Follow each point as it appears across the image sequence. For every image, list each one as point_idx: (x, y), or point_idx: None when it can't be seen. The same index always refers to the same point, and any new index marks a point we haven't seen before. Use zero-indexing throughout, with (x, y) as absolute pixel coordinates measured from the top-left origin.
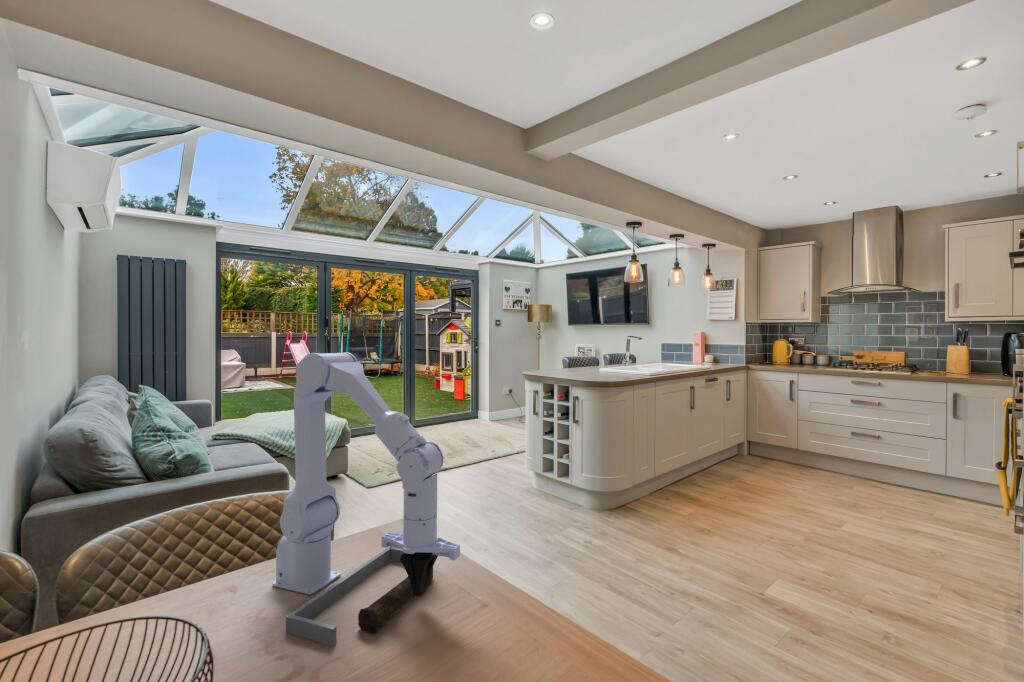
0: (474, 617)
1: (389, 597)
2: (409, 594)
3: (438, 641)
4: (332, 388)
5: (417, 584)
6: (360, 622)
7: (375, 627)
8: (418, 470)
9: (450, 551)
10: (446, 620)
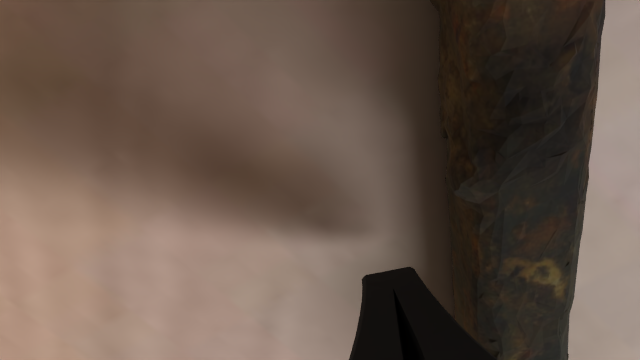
0: (77, 324)
1: (512, 138)
2: (461, 272)
3: (42, 83)
4: None
5: (380, 323)
6: None
7: None
8: None
9: None
10: (168, 240)
